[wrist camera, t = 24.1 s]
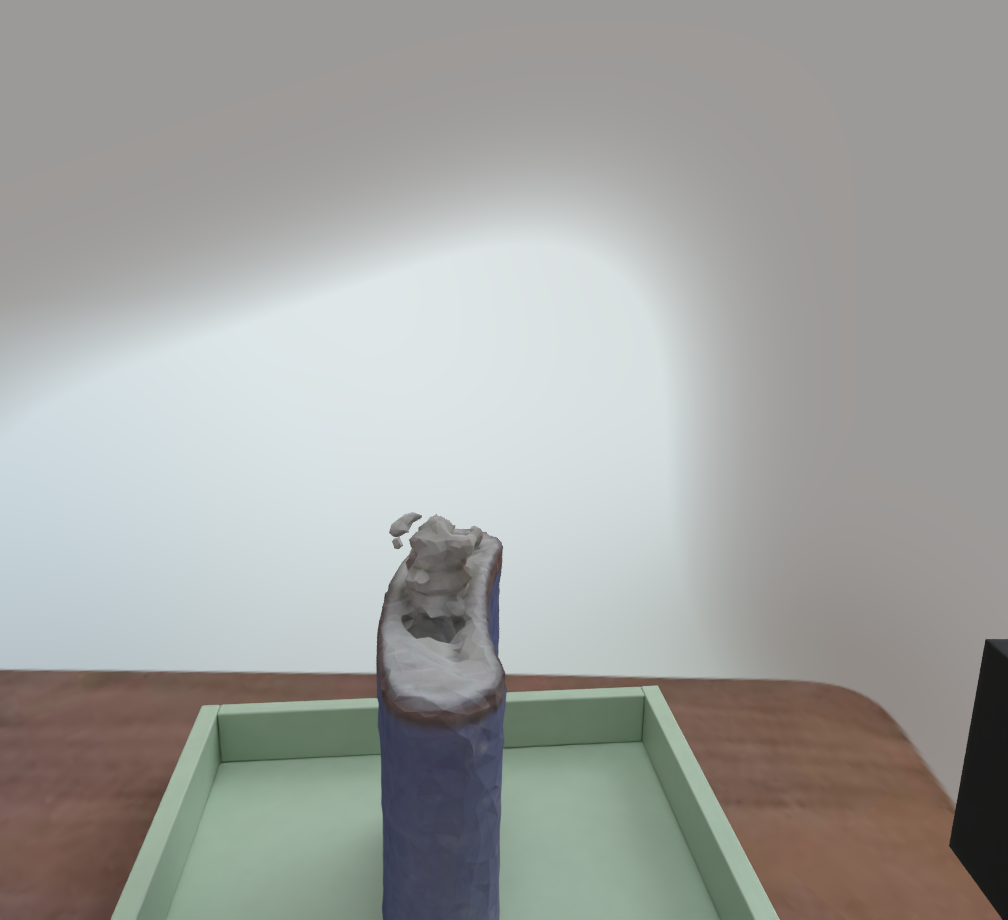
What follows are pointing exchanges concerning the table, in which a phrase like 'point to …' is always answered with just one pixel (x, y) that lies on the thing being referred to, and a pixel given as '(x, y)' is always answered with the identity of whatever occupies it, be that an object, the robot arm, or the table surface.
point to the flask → (441, 725)
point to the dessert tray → (523, 827)
